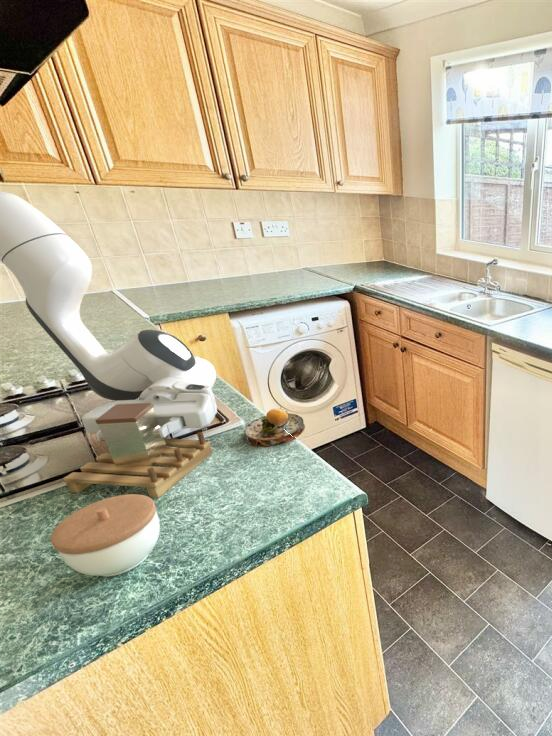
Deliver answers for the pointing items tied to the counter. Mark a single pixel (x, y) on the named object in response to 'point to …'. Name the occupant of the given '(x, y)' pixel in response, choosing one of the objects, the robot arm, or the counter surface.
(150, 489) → the rack
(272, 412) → the open sandwich
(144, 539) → the trinket box
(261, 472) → the counter surface
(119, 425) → the tea tin
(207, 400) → the robot arm
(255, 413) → the counter surface
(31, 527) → the counter surface
